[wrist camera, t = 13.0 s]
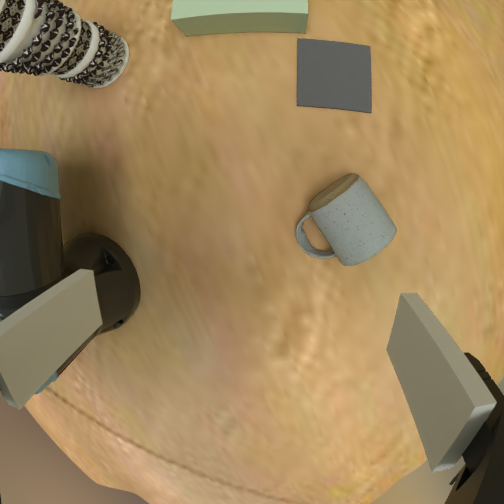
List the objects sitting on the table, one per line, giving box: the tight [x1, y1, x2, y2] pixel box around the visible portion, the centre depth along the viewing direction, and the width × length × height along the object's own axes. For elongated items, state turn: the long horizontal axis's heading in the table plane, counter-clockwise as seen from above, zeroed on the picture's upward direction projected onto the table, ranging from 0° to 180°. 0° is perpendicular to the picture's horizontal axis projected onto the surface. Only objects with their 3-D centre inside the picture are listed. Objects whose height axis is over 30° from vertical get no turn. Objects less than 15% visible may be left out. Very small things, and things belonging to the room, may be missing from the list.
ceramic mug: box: [296, 173, 397, 266], centre depth 34 cm, size 11×8×8 cm
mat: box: [297, 38, 372, 113], centre depth 31 cm, size 9×9×1 cm
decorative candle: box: [0, 0, 130, 88], centre depth 22 cm, size 9×9×25 cm
